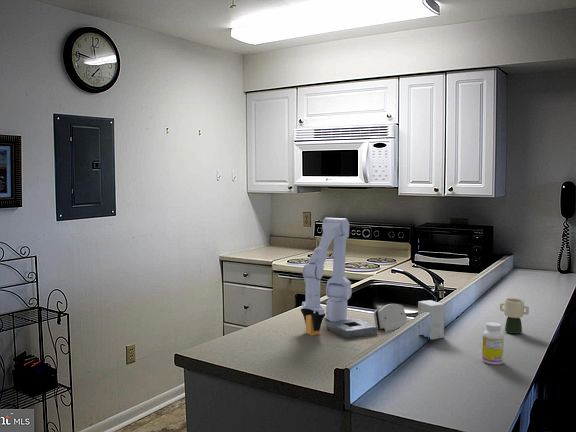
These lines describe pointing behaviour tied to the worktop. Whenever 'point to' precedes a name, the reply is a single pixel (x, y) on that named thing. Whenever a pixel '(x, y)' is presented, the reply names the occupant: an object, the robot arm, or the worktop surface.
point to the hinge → (390, 317)
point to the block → (310, 326)
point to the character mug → (514, 314)
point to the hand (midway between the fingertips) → (312, 328)
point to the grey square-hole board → (352, 328)
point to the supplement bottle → (493, 344)
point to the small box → (434, 317)
